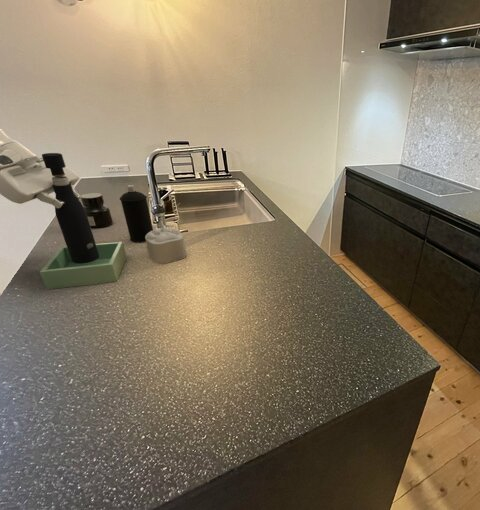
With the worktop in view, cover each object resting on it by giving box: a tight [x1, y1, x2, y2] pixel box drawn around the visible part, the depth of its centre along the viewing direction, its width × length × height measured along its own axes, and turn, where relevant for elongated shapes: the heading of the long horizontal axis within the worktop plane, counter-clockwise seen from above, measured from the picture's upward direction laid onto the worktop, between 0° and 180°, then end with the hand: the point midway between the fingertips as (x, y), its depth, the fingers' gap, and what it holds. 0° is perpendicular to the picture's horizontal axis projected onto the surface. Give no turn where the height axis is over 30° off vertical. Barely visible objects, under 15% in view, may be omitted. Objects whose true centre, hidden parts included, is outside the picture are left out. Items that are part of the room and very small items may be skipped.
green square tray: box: [39, 241, 128, 291], centre depth 91 cm, size 16×16×6 cm
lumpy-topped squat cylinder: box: [145, 226, 187, 265], centre depth 104 cm, size 10×13×9 cm
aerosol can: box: [119, 184, 154, 243], centre depth 111 cm, size 8×8×20 cm
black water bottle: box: [41, 152, 99, 264], centre depth 84 cm, size 6×6×30 cm
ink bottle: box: [80, 192, 114, 229], centre depth 121 cm, size 10×9×12 cm
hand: (70, 202), depth 83 cm, fingers closed on black water bottle, 5 cm apart
